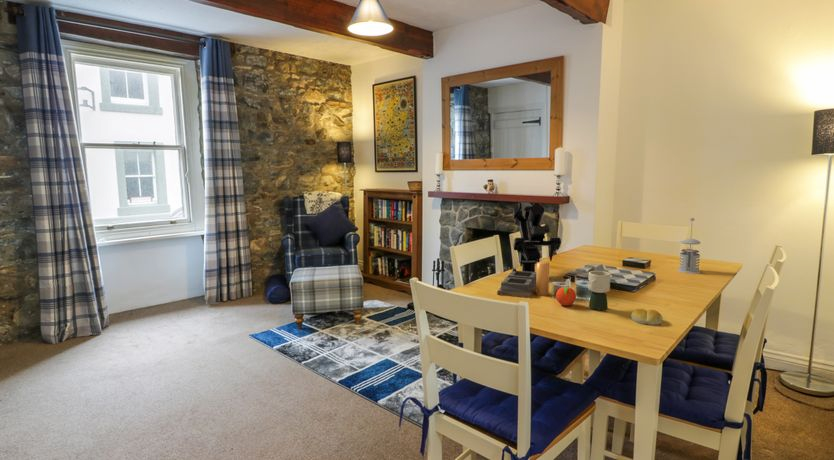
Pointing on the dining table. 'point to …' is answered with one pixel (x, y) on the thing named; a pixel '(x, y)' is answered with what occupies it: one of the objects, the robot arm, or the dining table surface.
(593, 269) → the electrical switch
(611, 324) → the dining table surface
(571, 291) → the tomato
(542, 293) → the tan cylinder
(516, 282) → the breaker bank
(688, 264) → the french press
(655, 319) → the bread roll
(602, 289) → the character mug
